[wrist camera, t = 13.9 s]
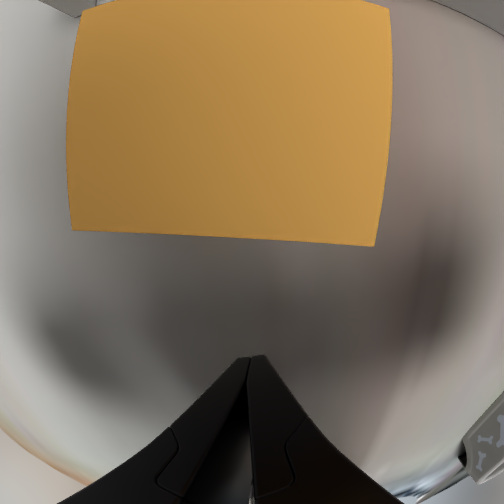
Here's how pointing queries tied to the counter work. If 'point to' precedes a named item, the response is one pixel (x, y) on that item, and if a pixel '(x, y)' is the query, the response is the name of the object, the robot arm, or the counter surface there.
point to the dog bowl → (485, 444)
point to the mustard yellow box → (231, 119)
